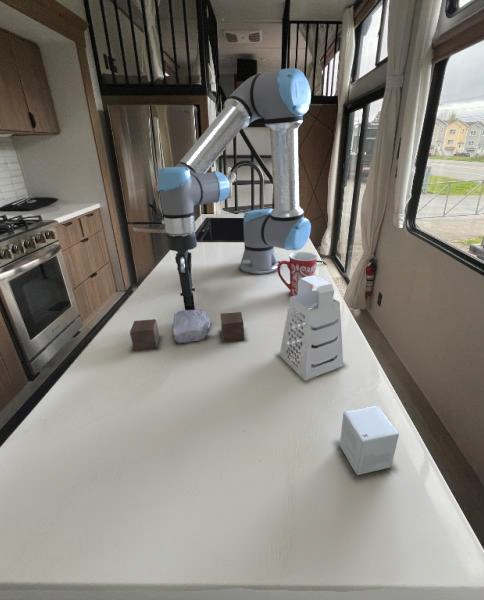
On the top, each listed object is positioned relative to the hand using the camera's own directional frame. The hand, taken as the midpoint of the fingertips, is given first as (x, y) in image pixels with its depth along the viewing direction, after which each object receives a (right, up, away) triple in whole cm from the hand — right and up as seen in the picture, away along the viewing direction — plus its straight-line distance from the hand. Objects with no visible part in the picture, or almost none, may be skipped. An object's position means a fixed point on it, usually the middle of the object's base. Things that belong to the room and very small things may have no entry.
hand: (190, 313), depth 93 cm
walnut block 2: (+13, -5, -7) cm, 16 cm away
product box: (+36, -21, -41) cm, 58 cm away
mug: (+32, +6, +15) cm, 36 cm away
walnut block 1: (-9, -7, -10) cm, 15 cm away
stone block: (+2, -5, -5) cm, 7 cm away
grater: (+32, -10, -17) cm, 37 cm away
